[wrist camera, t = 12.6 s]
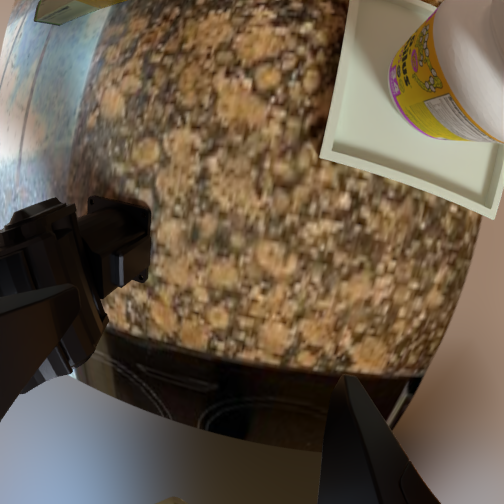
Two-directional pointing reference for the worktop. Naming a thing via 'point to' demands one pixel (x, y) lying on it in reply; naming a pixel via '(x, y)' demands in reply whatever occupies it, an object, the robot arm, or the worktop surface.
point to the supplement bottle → (453, 73)
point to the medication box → (68, 9)
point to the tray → (391, 122)
